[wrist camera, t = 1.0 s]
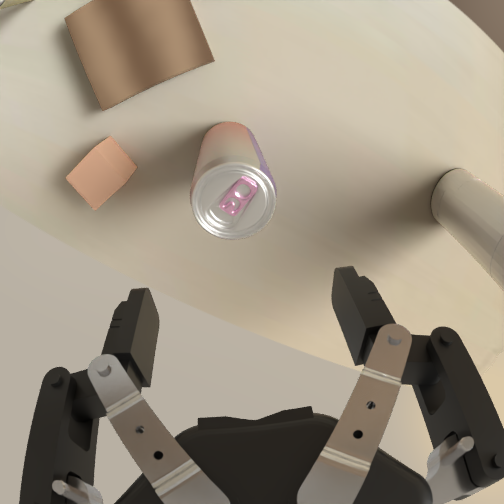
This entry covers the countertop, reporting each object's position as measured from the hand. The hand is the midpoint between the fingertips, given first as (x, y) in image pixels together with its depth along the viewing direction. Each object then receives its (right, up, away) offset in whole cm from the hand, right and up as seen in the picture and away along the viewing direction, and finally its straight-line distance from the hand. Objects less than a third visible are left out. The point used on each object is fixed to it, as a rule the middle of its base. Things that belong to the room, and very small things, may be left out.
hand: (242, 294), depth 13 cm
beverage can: (-2, +13, +20) cm, 24 cm away
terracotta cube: (-16, +12, +19) cm, 28 cm away
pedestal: (-11, +24, +11) cm, 29 cm away
